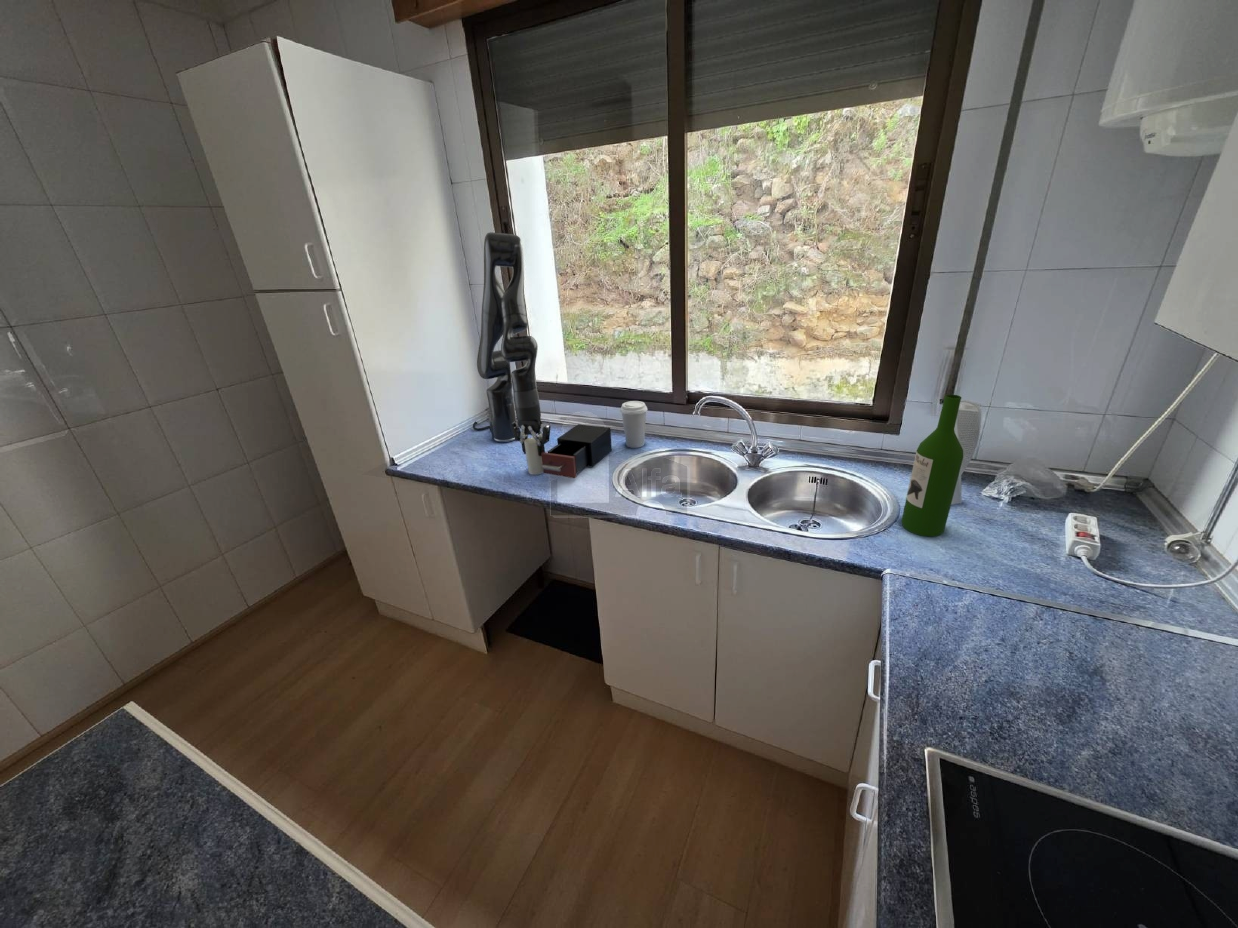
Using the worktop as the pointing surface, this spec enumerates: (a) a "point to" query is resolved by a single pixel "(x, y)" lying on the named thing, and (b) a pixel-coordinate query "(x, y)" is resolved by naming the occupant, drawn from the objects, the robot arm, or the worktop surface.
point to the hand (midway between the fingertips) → (534, 453)
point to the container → (533, 457)
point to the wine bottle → (934, 475)
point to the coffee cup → (634, 422)
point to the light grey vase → (966, 437)
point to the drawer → (566, 459)
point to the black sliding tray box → (590, 440)
